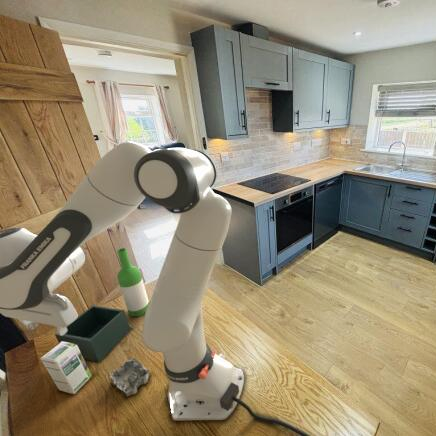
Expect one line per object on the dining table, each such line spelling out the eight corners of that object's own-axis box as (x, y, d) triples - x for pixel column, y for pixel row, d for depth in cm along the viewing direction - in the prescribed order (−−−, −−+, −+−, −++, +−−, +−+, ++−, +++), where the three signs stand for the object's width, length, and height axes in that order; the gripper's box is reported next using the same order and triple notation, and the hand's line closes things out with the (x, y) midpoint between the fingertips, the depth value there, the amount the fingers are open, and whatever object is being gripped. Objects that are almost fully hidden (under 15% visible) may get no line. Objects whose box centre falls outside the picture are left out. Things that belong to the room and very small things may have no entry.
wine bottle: (139, 302, 105) (121, 243, 93) (154, 305, 104) (138, 246, 92) (124, 315, 98) (103, 253, 86) (140, 319, 97) (121, 256, 85)
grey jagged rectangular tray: (109, 381, 74) (105, 373, 72) (134, 362, 80) (131, 353, 78) (128, 401, 69) (124, 392, 68) (153, 378, 75) (150, 370, 74)
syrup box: (74, 395, 70) (56, 361, 65) (58, 390, 71) (39, 357, 66) (92, 376, 75) (77, 344, 70) (77, 372, 77) (61, 340, 71)
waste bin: (130, 329, 92) (124, 310, 88) (99, 362, 80) (90, 341, 76) (100, 324, 94) (93, 305, 90) (65, 355, 82) (54, 334, 78)
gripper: (75, 287, 61) (91, 327, 66) (10, 277, 63) (31, 315, 69) (48, 305, 55) (68, 347, 60) (-22, 292, 58) (3, 333, 63)
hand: (47, 330), depth 65 cm, fingers open, 8 cm apart
